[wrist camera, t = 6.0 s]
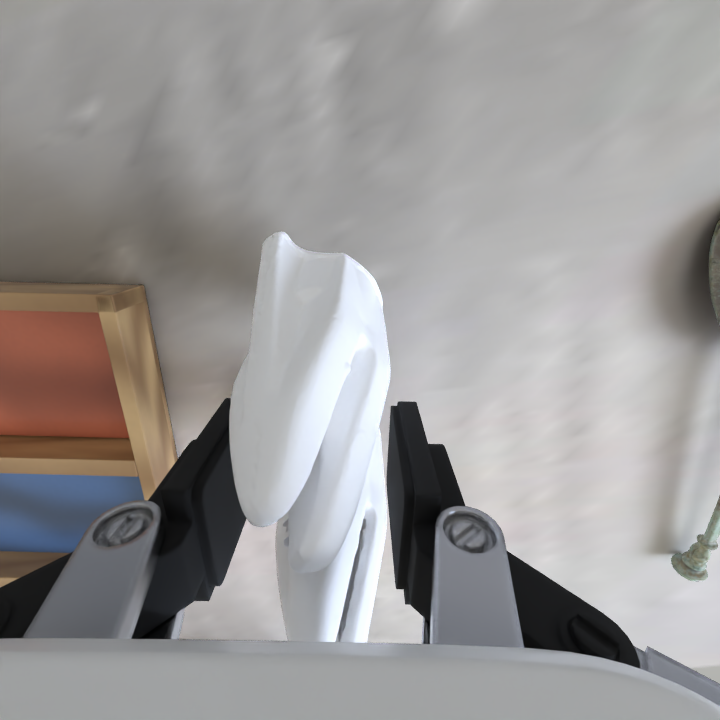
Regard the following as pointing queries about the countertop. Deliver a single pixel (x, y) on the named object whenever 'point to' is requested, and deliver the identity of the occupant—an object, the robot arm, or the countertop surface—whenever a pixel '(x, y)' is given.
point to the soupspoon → (699, 553)
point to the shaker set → (315, 435)
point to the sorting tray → (75, 414)
